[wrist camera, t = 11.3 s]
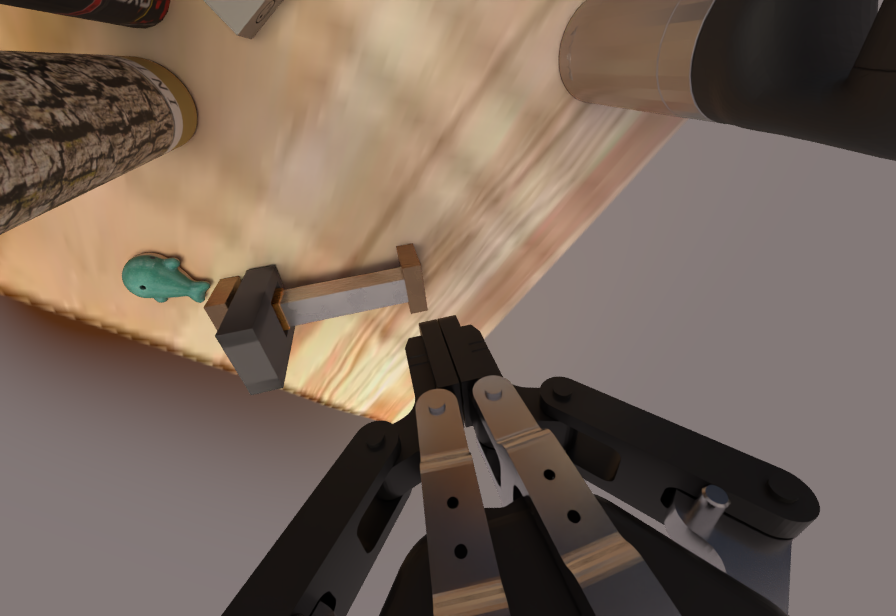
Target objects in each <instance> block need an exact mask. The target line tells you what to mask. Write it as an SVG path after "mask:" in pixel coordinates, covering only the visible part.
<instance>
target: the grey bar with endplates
mask: <svg viewBox="0 0 896 616" xmlns="http://www.w3.org/2000/svg"><path fill="white" fill-rule="evenodd" d="M396 248H397V253H398V258H399V263H400V267H399V268H394V269H388V270H383V271H378V272H373V273H368V274H363V275H358V276H352V277H347V278H342V279H337V280H332V281H327V282H322V283H316V284H311V285H306V286H301V287H296V288H291V289H286V290H284V289H283V288H278V289H275V291H274V294H273V297H272V300H271V305H272V307H273V309H274V311H275V314H276V316H277V318H278V320H279V322H280V324H281V327H282V329H283V331H284V330H289V329H290V327H291V326H295V325H300V324H305V323H310V322H315V321H319V320H324V319H329V318H334V317H339V316H343V315H348V314H353V313H358V312H363V311H367V310H372V309H377V308H382V307H387V306H391V305H396V304H401V303H406V302H408V304H409V308H410V312H411V314H413V313H417V312H422V311H427V310H428V308H427V302H426V296H425V289H424V283H423V276H422V270H421V264H420V262H419V259H418V256H417V254H416V251H415V248H414V246H413V244H407V245H402V246H397V247H396ZM240 283H241V279H240V277H239V276H236V277H231V278H225V279H220V281H219V282H218V284H217V286H216V287H215V289H214V291H213V292H212V294H211V296H210V298H209V299H208V301H207V303H206V304H205V306H204V309H205V311H206V312H207V314H208V316H209V317H210V319H211V321H212V322H213V324H214V326H215V327H216V329H217V331H218V329H219V327H220V325H221V323H222V321H223V319H224V317H225V315H226V312H227V310H228V308H229V306H230V304H231V302H232V300H233V298H234V296H235V294H236V292H237V290H238V288H239V286H240Z"/></svg>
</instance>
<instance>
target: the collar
mask: <svg viewBox="0 0 896 616" xmlns="http://www.w3.org/2000/svg"><path fill="white" fill-rule="evenodd" d="M278 288H283V289H284V286H283V284H282V281H281V279H280V277H279V274H278V272H277V270H276V267H275V265H274V266H268V267H263V268H257V269H252V270H247V271H246V273H245V275H244V277H243V279H242V281H241V283H240V286H239V288H238V290H237V292H236V294H235V296H234V298H233V300H232V302H231V304H230V306H229V308H228V310H227V312H226V315H225V317H224V319H223V321H222V323H221V325H220V327H219V329H218V331H217V333H216V335H215V337H216V338H217V340H218V342H219V343H220V345H221V347H222V348H223V350H224V352H225V353H226V355H227V357H228V358H229V360H230V361H231V363H232V365H233V366H234V368H235V370H236V371H237V373H238V375H239V376H240V378H241V380H242V381H243V383H244V384H245V386H246V388H247V389H248V391H249V393H250V394H251V395H254V394H258V393H263V392H267V391H271V390H275V389H280V388H283V386H284V381H285V376H286V371H287V366H288V360H289V355H290V350H291V345H292V340H293V335H294V330H295V326H291V327H290V329H289V330H284V331H283V329H282V327H281V324H280V322H279V320H278V318H277V316H276V314H275V311H274V309H273V307H272V305H271V300H272V297H273V294H274V291H275V289H278ZM284 290H285V289H284Z"/></svg>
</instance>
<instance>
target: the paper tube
mask: <svg viewBox="0 0 896 616" xmlns="http://www.w3.org/2000/svg"><path fill="white" fill-rule="evenodd" d="M196 125H197V112H196V108H195V105H194V102H193V100H192V97H191V95H190V94H189V92H188V91H187V89H186V88H185V86H184V85H183V84H182V83H181V82H180V80H179V79H178V78H177V77H176V76H174V75H173V74H172V73H171V72H170V71H168V70H167V69H165V68H164V67H162V66H160V65H159V64H157V63H154V62H152V61H149V60H147V59H143V58H139V57H131V56H112V55H92V54H69V53H45V52H21V51H0V234H2V233H5V232H7V231H9V230H11V229H13V228H15V227H17V226H19V225H21V224H23V223H25V222H27V221H29V220H31V219H33V218H35V217H37V216H39V215H41V214H43V213H45V212H47V211H49V210H51V209H54V208H56V207H58V206H60V205H62V204H64V203H66V202H68V201H70V200H72V199H74V198H76V197H78V196H80V195H82V194H84V193H86V192H88V191H90V190H92V189H94V188H96V187H98V186H100V185H103V184H105V183H107V182H109V181H111V180H113V179H115V178H117V177H119V176H121V175H123V174H125V173H127V172H129V171H131V170H133V169H135V168H137V167H139V166H141V165H143V164H145V163H147V162H149V161H152V160H154V159H156V158H158V157H160V156H162V155H164V154H166V153H168V152H169V151H171V150H173V149H175V148H177V147H179V146H181V145H183V144H185V143H186V142H187V141H188V140H189V139H190V138H191V137H192V135H193V134H194V132H195V129H196Z"/></svg>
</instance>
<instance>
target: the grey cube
mask: <svg viewBox="0 0 896 616" xmlns="http://www.w3.org/2000/svg"><path fill="white" fill-rule="evenodd" d="M204 1H205V3H206V4H207V5H208V6H209V7H210V8H211V9H212V10H213V11H214V12H215V13H216V14H217V15H218V16H219V17H220V18H221V19H222V20H223V21H224V22H225V23H226V24H227V25H228V26H229V27H230V28H231V29H232V30H233V32H234V33H235V34H236V35H238V36H242V37H245V38H249V39H252V38H253V37H254V36H255V34H256V33H257V32H258V31H259V29H260V28H261V27H262V26H263V24H264V23H265V22H266V21H267V20H268V18H269V17H270V16H271V15H272V13H273V12H274V11H275V10H276V8H277V7H278V6H279V5H280V4H281V2H282V1H283V0H204Z"/></svg>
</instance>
